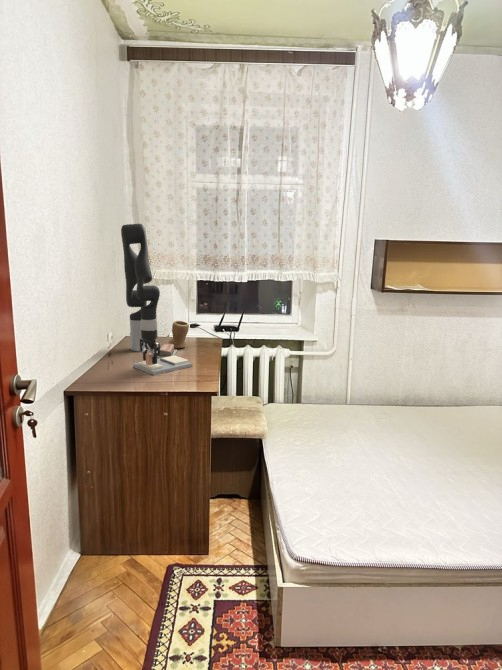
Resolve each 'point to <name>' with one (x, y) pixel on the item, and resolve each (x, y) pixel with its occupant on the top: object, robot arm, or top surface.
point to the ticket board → (166, 365)
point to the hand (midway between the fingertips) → (150, 362)
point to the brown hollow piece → (179, 334)
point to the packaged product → (167, 351)
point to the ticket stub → (149, 363)
